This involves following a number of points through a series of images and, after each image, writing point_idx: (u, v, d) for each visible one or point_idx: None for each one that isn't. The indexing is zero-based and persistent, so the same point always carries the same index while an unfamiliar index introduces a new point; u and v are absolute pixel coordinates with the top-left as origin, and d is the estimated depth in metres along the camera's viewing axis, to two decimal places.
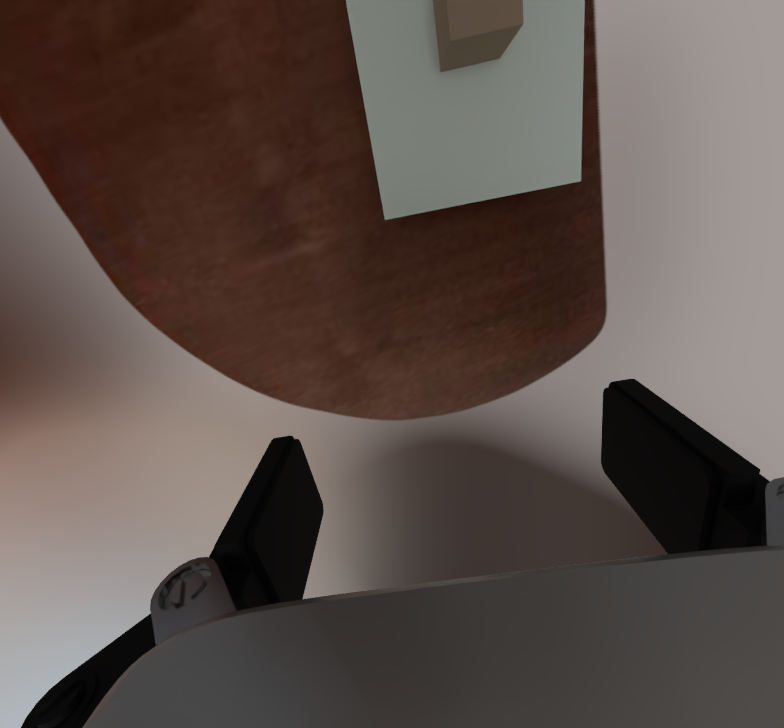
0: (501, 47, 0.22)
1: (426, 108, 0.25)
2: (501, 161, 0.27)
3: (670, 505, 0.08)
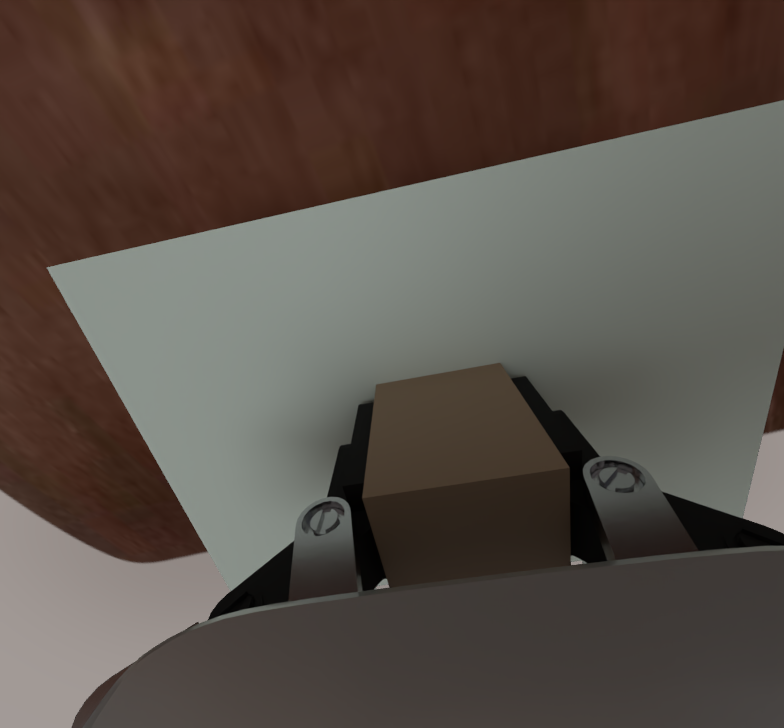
0: None
1: (310, 360, 0.11)
2: (241, 498, 0.14)
3: None
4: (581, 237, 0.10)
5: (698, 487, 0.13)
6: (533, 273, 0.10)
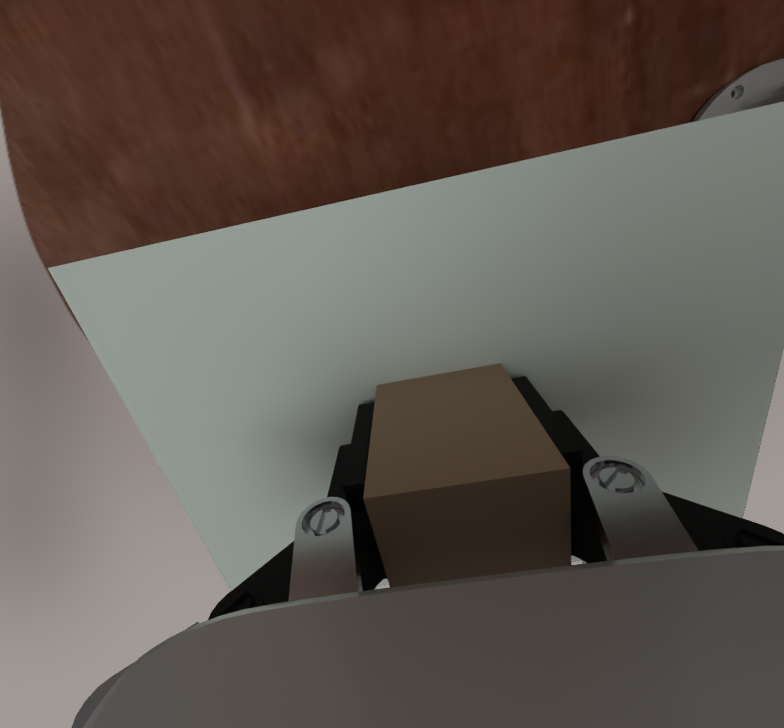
0: None
1: (310, 360, 0.11)
2: (242, 498, 0.14)
3: None
4: (581, 238, 0.10)
5: (698, 487, 0.13)
6: (533, 274, 0.10)
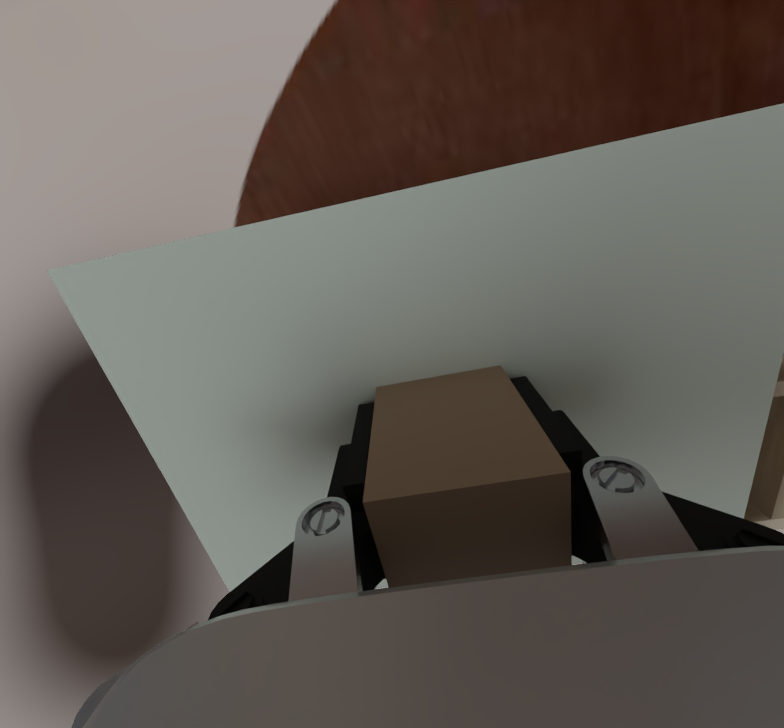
0: None
1: (310, 363, 0.11)
2: (241, 500, 0.14)
3: None
4: (582, 240, 0.10)
5: (699, 489, 0.13)
6: (533, 275, 0.10)
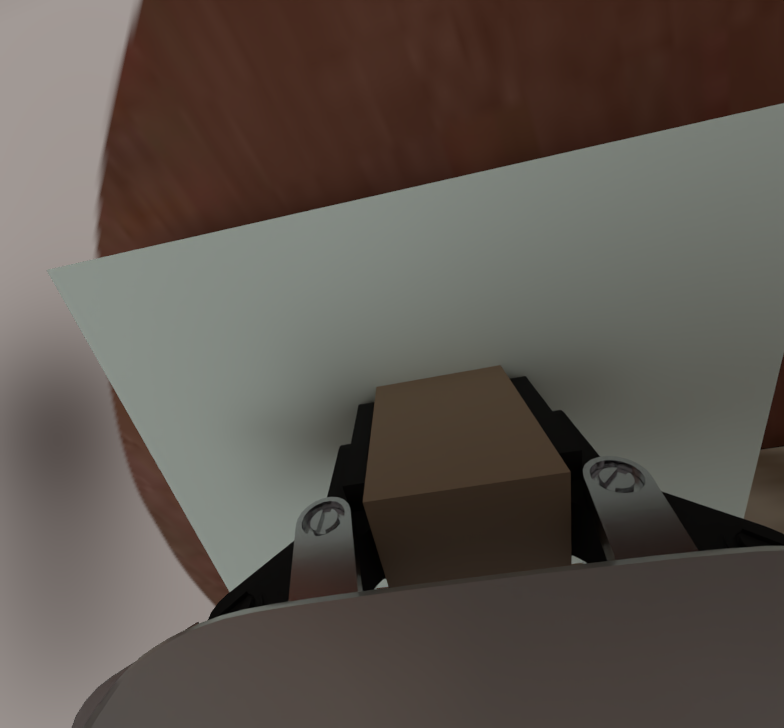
0: None
1: (310, 362, 0.11)
2: (241, 500, 0.14)
3: None
4: (582, 240, 0.10)
5: (699, 489, 0.13)
6: (533, 275, 0.10)
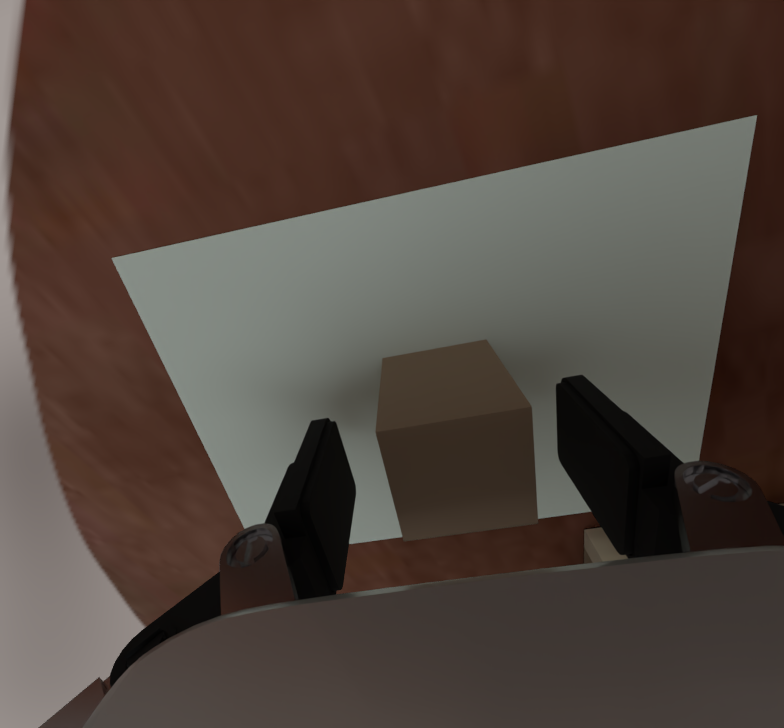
0: None
1: (327, 337, 0.14)
2: (265, 459, 0.16)
3: (606, 490, 0.09)
4: (551, 234, 0.12)
5: None
6: (512, 263, 0.12)
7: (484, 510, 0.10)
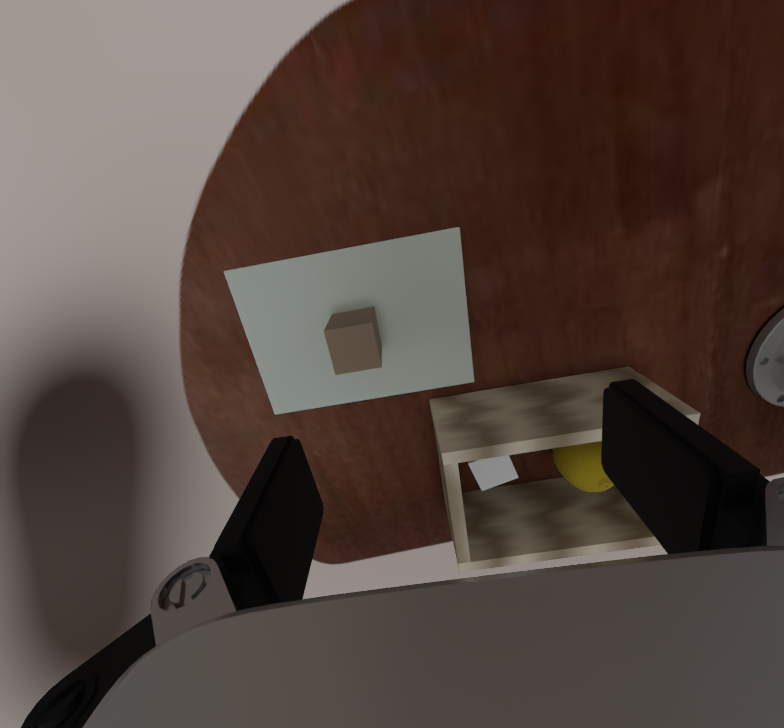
0: None
1: (309, 304, 0.33)
2: (280, 361, 0.35)
3: (671, 506, 0.08)
4: (394, 265, 0.32)
5: (453, 357, 0.36)
6: (381, 276, 0.32)
7: (362, 361, 0.30)
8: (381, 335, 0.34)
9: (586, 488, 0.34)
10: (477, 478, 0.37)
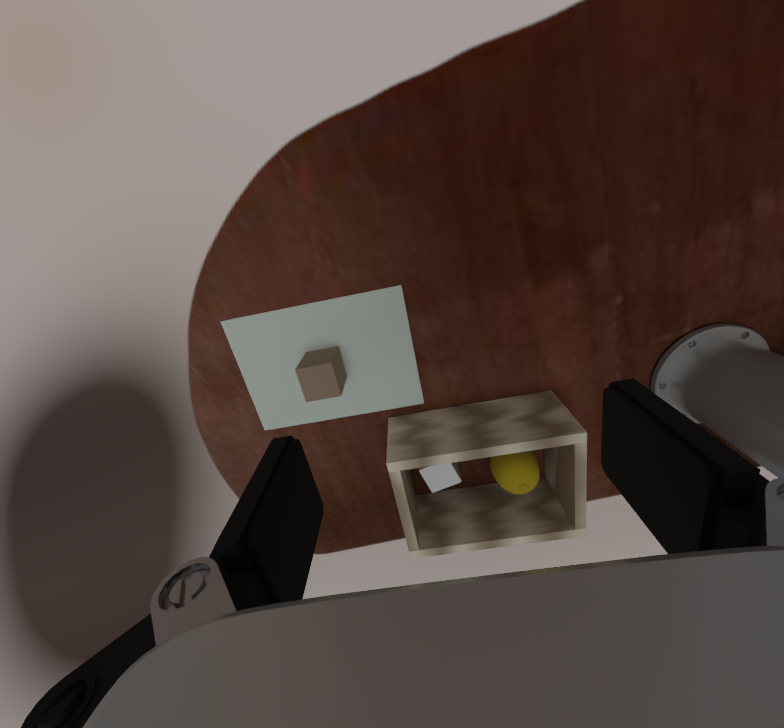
0: None
1: (287, 345, 0.42)
2: (267, 388, 0.44)
3: (671, 505, 0.08)
4: (352, 314, 0.41)
5: (405, 383, 0.44)
6: (342, 323, 0.41)
7: (326, 392, 0.39)
8: (346, 367, 0.43)
9: (511, 491, 0.41)
10: (427, 482, 0.45)
